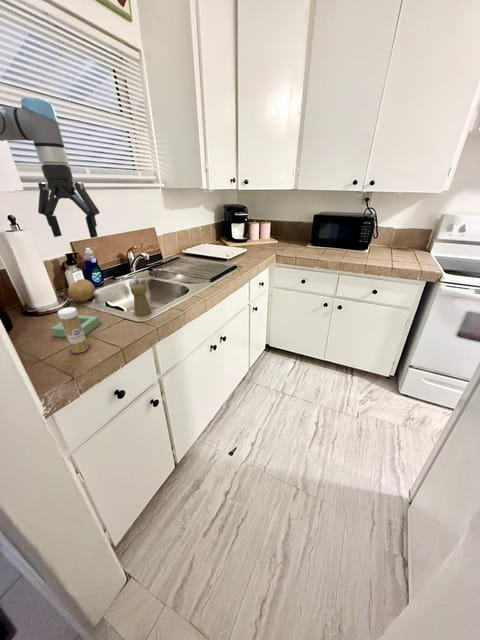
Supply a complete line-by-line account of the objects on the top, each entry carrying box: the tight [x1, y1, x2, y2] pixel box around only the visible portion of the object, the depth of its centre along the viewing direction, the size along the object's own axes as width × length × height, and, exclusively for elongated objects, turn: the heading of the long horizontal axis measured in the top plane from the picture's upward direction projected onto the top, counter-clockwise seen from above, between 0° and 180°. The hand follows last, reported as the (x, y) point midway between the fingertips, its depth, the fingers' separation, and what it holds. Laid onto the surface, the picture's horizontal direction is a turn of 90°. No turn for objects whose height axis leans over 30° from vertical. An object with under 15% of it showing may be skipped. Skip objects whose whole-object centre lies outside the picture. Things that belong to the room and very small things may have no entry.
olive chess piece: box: [130, 284, 152, 317], centre depth 99 cm, size 6×6×11 cm
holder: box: [51, 314, 101, 338], centre depth 89 cm, size 10×10×3 cm
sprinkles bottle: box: [57, 306, 89, 354], centre depth 76 cm, size 5×5×13 cm
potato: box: [67, 278, 96, 303], centre depth 111 cm, size 10×14×8 cm
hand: (76, 236), depth 89 cm, fingers open, 13 cm apart
